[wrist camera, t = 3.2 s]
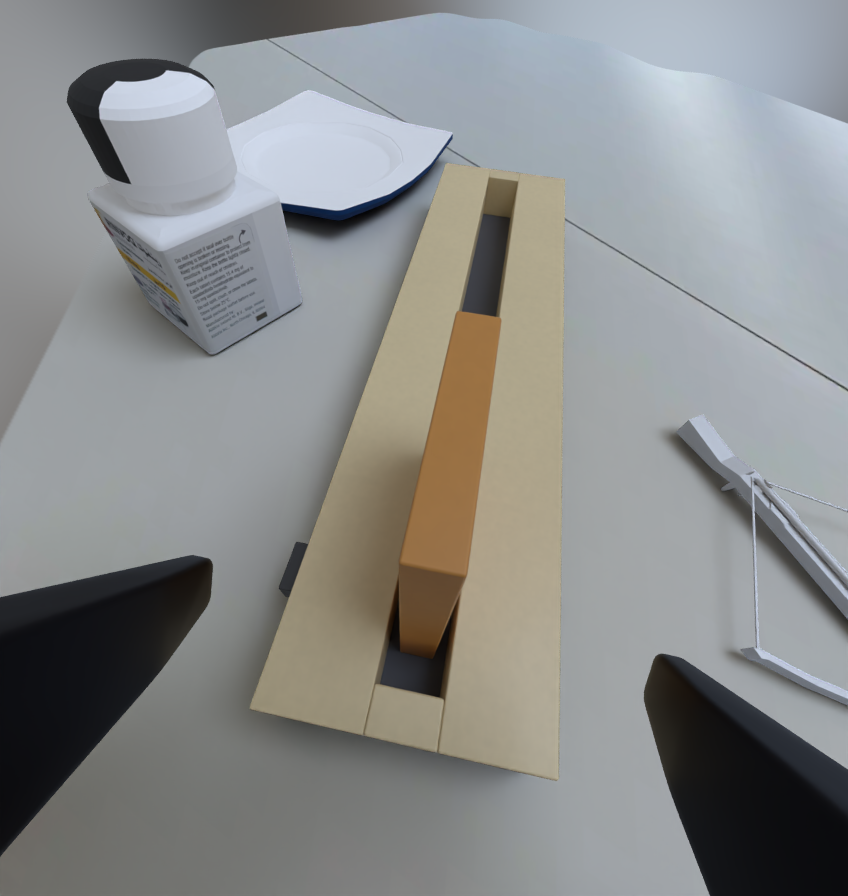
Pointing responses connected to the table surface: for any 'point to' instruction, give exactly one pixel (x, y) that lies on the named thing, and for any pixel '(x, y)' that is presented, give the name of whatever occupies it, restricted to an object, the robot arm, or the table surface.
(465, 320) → the toast
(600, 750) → the table surface
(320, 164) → the plate
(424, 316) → the toaster
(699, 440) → the crossbow
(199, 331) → the container
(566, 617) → the table surface
